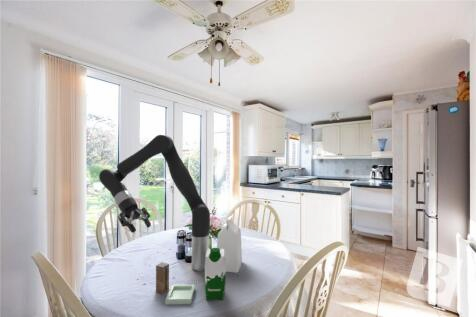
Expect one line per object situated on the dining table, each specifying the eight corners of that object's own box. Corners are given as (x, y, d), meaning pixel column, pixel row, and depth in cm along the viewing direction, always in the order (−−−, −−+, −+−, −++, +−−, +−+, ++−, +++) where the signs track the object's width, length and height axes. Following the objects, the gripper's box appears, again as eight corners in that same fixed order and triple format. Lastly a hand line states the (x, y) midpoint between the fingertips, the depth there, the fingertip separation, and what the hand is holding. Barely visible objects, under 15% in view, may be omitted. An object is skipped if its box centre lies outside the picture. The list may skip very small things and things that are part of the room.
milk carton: (203, 301, 88) (203, 252, 88) (206, 288, 97) (206, 243, 97) (225, 301, 88) (225, 251, 88) (225, 288, 97) (226, 243, 97)
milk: (237, 272, 110) (237, 221, 111) (216, 270, 113) (216, 220, 113) (242, 261, 122) (242, 215, 122) (222, 259, 124) (222, 214, 125)
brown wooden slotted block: (162, 287, 97) (162, 261, 98) (168, 289, 96) (169, 263, 96) (155, 291, 94) (156, 265, 94) (162, 294, 93) (163, 267, 93)
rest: (194, 289, 96) (194, 284, 96) (190, 303, 86) (190, 298, 86) (172, 289, 96) (172, 284, 96) (165, 304, 86) (165, 299, 86)
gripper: (116, 199, 98) (133, 228, 93) (141, 195, 111) (158, 220, 106) (108, 209, 100) (124, 238, 95) (134, 204, 113) (150, 229, 108)
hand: (142, 229), depth 101 cm, fingers open, 8 cm apart
